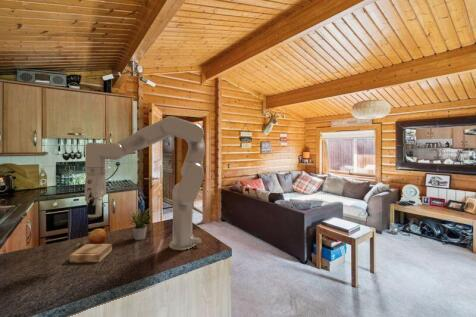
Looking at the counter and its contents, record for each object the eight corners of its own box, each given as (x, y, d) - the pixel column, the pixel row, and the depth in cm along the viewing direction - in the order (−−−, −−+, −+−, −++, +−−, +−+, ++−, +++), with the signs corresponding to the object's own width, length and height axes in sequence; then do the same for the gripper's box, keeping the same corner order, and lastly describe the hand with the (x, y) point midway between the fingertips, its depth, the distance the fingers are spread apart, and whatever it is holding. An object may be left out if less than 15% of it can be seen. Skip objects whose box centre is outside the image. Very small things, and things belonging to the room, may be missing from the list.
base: (111, 250, 116) (111, 243, 116) (99, 262, 104) (99, 254, 104) (85, 250, 115) (85, 243, 115) (69, 262, 103) (69, 254, 103)
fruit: (112, 236, 130) (107, 226, 125) (103, 249, 123) (98, 238, 119) (97, 235, 131) (92, 225, 126) (88, 248, 124) (82, 238, 120)
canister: (104, 214, 111) (104, 196, 110) (98, 217, 105) (98, 198, 105) (91, 213, 110) (91, 195, 110) (84, 217, 105) (84, 198, 104)
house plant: (158, 233, 140) (158, 204, 140) (153, 242, 127) (153, 210, 126) (132, 233, 138) (132, 204, 138) (124, 243, 125) (124, 211, 124)
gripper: (94, 173, 99) (94, 218, 99) (112, 169, 116) (112, 208, 116) (75, 172, 98) (74, 218, 99) (95, 169, 115) (95, 208, 116)
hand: (94, 212), depth 108 cm, fingers closed on canister, 5 cm apart
